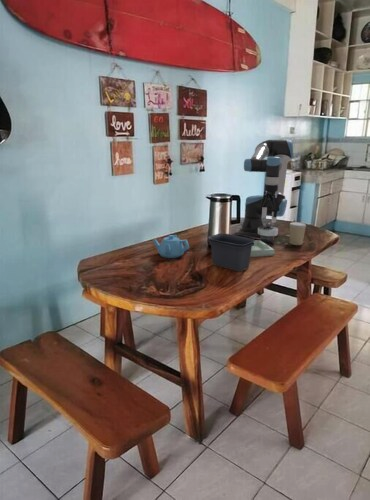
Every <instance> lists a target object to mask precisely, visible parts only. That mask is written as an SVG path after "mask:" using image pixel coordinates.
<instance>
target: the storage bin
mask: <svg viewBox="0 0 370 500" xmlns="http://www.w3.org/2000/svg"><path fill="white" fill-rule="evenodd" d="M254 241H255V239H254V238H249V237H243V236H239V235H235V234H231V233H223V232H221V233H216V234H213V235H209V236H208V242H209V243H210V245H211V246H210V247H211V248H210V249H211V250H210V251H211V260H212V261H211V264H212V265H213V266H216V267H219V268H225V269H227V270H228V269H229V270H231V271H235V272H242V271H245V270H247V269H248V268H249V267H250V260H251V257H250V254H251V248H252V246H253V245H254Z"/></svg>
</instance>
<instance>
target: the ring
mask: <svg viewBox="0 0 370 500" xmlns="http://www.w3.org/2000/svg"><path fill="white" fill-rule="evenodd" d="M257 234H258V235H259V236H261V235H262V236H274V237H277V235H279V228H278V227H276V226H271V227H270V230H268V229H266V225H264V226H260V227H259V228H258V232H257Z"/></svg>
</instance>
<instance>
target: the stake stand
mask: <svg viewBox="0 0 370 500" xmlns="http://www.w3.org/2000/svg"><path fill="white" fill-rule="evenodd" d="M265 226H266V229H268V230H270V227H272V223H270V222H268V223H266V224H265ZM260 240H261V241H262V242H264V243H265V244H267V245H268V244H269V245H272V244H274V243H275V242H274V241H275V236H262V235H260Z"/></svg>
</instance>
